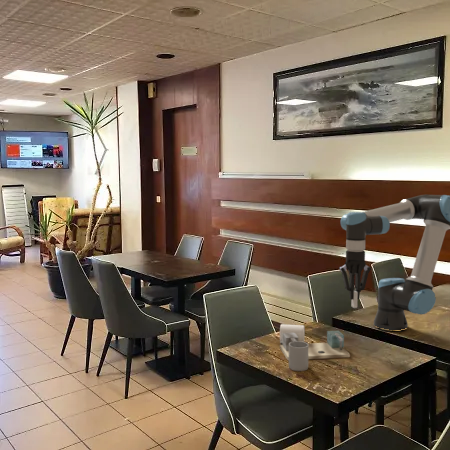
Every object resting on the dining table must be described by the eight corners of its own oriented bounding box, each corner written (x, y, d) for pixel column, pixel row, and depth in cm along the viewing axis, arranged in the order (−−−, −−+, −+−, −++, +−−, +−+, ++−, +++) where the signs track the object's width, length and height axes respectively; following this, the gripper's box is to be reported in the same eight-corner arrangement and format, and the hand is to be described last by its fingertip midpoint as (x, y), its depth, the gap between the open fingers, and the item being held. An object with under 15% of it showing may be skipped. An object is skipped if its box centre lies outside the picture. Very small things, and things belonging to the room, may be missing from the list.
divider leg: (338, 342, 204) (338, 330, 204) (347, 350, 194) (347, 338, 194) (327, 342, 204) (327, 331, 203) (335, 351, 194) (335, 339, 193)
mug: (303, 347, 203) (303, 328, 202) (279, 345, 205) (279, 327, 204) (304, 338, 215) (304, 320, 214) (282, 336, 217) (282, 319, 216)
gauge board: (337, 344, 205) (338, 329, 205) (349, 357, 191) (350, 340, 191) (279, 347, 202) (279, 332, 202) (287, 360, 189) (287, 344, 188)
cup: (295, 372, 177) (295, 349, 176) (281, 363, 186) (281, 340, 185) (312, 369, 180) (312, 346, 179) (297, 360, 189) (297, 337, 188)
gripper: (367, 248, 202) (365, 304, 204) (336, 249, 201) (335, 305, 203) (374, 251, 195) (373, 308, 197) (343, 251, 193) (342, 309, 196)
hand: (354, 306), depth 200 cm, fingers closed
